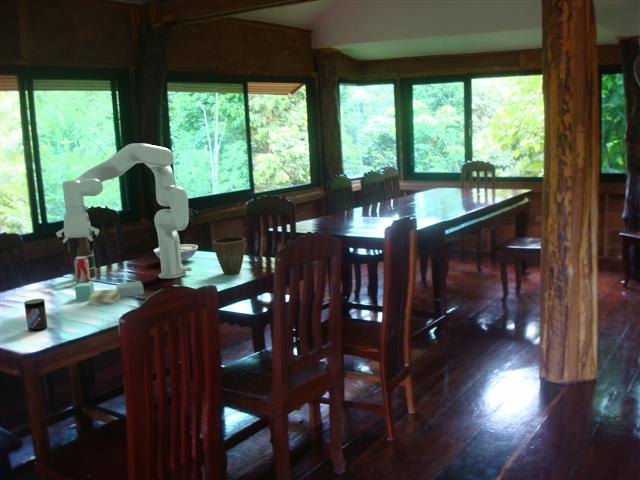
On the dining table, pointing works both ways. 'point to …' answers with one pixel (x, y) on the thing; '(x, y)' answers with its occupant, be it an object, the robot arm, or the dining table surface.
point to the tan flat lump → (104, 297)
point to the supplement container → (36, 315)
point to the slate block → (130, 289)
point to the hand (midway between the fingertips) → (79, 250)
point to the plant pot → (230, 254)
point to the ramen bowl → (183, 251)
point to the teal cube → (84, 291)
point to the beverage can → (82, 269)
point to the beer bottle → (87, 255)
